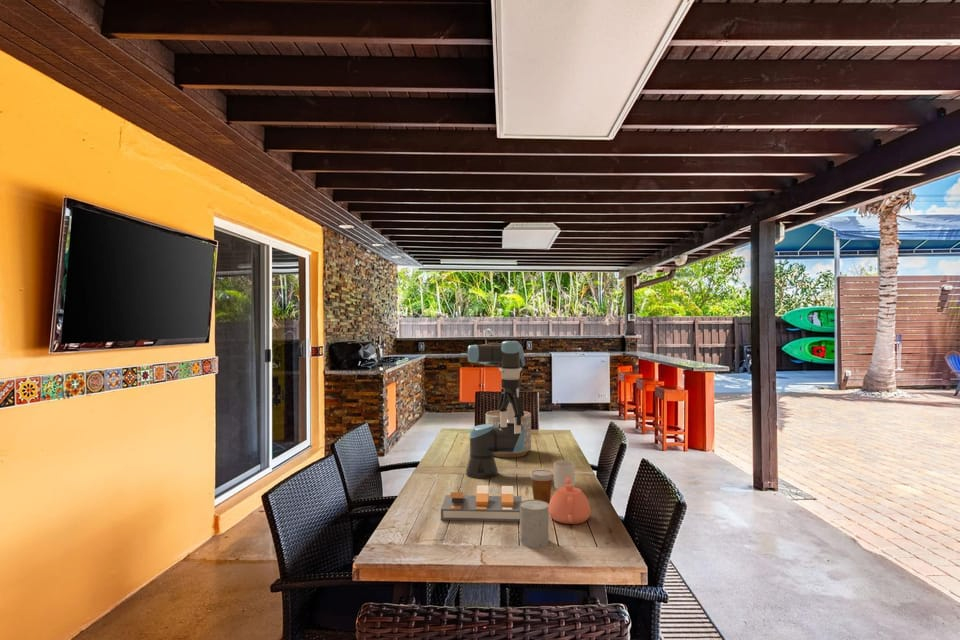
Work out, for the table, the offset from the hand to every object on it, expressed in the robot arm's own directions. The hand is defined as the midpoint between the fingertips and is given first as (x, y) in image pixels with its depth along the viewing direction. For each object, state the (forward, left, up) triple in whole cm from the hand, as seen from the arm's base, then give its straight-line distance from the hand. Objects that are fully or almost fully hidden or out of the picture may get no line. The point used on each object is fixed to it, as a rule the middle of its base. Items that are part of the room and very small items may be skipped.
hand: (510, 430), depth 216 cm
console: (+4, -19, -28) cm, 35 cm away
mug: (+5, +29, -29) cm, 41 cm away
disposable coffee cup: (+11, +7, -29) cm, 31 cm away
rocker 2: (+4, -19, -22) cm, 29 cm away
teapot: (+29, +2, -29) cm, 41 cm away
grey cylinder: (+35, -24, -29) cm, 51 cm away
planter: (-56, +55, -29) cm, 83 cm away
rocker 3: (+11, -13, -22) cm, 27 cm away
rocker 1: (-3, -26, -22) cm, 34 cm away
